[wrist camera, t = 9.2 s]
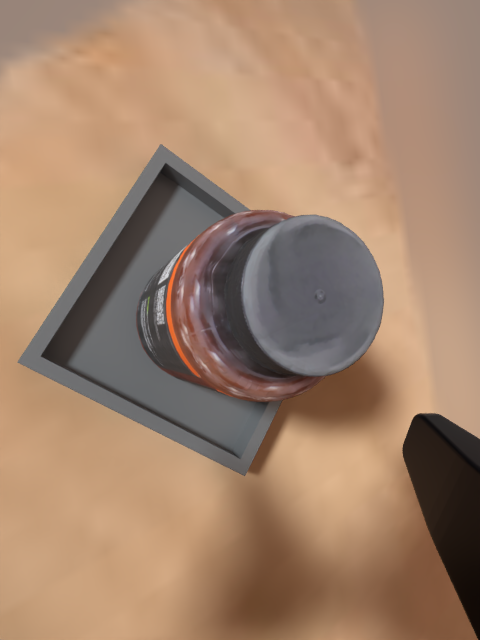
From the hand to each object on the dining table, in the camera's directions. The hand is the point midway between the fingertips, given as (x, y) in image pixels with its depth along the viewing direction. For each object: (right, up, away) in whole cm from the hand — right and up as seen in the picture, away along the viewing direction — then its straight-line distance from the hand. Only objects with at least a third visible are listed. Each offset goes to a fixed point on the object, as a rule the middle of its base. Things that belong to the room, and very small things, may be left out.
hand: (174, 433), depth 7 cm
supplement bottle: (-1, +2, +13) cm, 14 cm away
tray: (-1, +2, +14) cm, 14 cm away
